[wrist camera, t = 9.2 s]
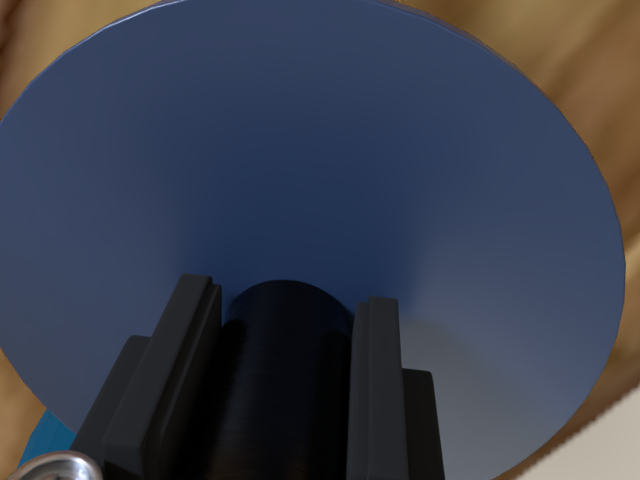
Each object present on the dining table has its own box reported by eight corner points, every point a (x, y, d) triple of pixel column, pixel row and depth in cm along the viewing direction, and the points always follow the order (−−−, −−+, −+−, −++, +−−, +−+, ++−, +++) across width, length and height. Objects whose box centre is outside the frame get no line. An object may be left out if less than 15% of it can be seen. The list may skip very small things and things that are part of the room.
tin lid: (50, 448, 16) (-107, 728, 11) (-68, -66, 10) (-643, 4, 4) (508, 506, 16) (577, 818, 11) (722, 24, 9) (1201, 221, 4)
